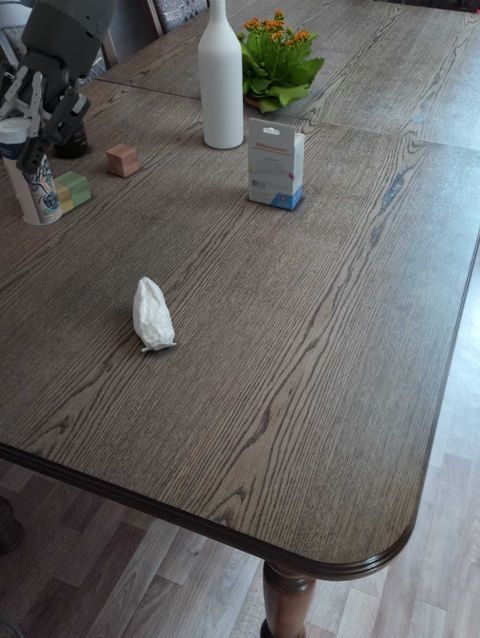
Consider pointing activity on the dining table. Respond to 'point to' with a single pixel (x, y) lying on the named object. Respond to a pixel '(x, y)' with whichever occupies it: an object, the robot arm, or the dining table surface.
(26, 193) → the white cylindrical canister
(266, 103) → the potted flower
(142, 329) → the white crumpled pouch
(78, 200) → the block row
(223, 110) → the bottle
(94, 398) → the dining table surface
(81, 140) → the supplement bottle
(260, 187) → the ink box
